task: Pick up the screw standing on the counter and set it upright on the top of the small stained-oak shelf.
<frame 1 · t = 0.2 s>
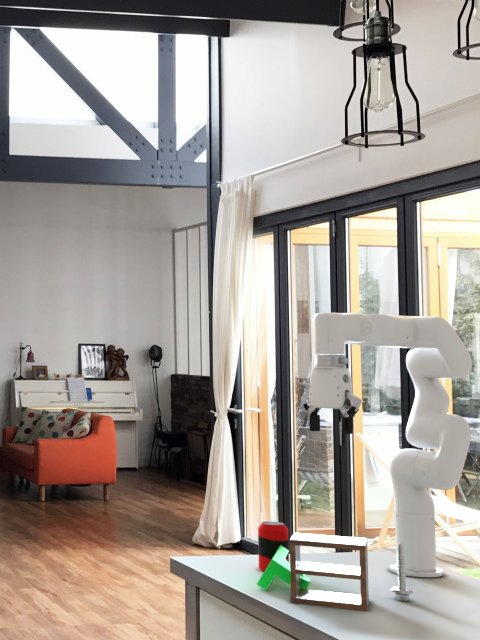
hand: (331, 432, 249), 37 cm above the counter, tool pointing down, fingers open, 9 cm apart
bracket: (287, 584, 248), on the counter
screw: (402, 600, 233), on the counter
shelf: (330, 602, 230), on the counter
soda can: (273, 571, 263), on the counter
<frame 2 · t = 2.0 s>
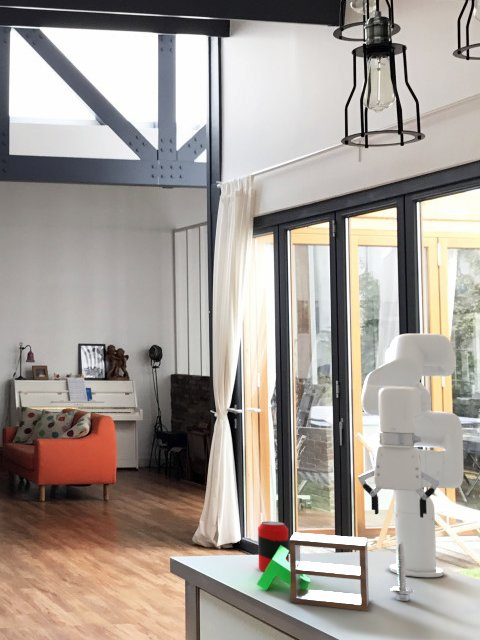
hand: (399, 515, 235), 19 cm above the counter, tool pointing down, fingers open, 9 cm apart
nothing on the counter moved.
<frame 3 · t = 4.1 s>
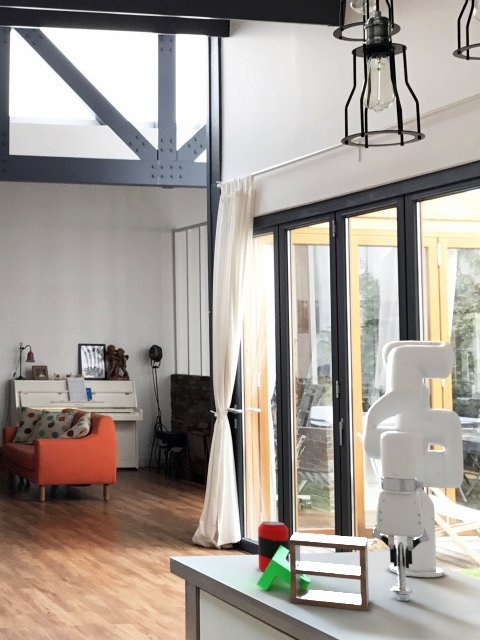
hand: (401, 566, 234), 8 cm above the counter, tool pointing down, fingers closed on screw, 2 cm apart
screw: (402, 600, 233), on the counter, touching gripper
everything else where it was.
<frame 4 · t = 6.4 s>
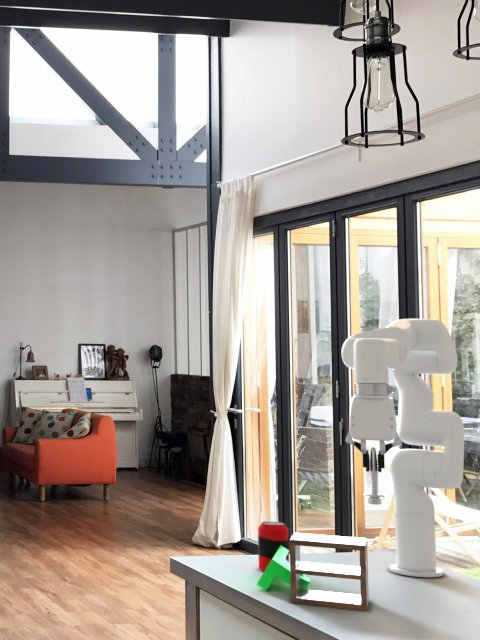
hand: (373, 470, 235), 29 cm above the counter, tool pointing down, fingers closed on screw
screw: (374, 504, 234), point 22 cm above the counter, touching gripper
everything else where it was.
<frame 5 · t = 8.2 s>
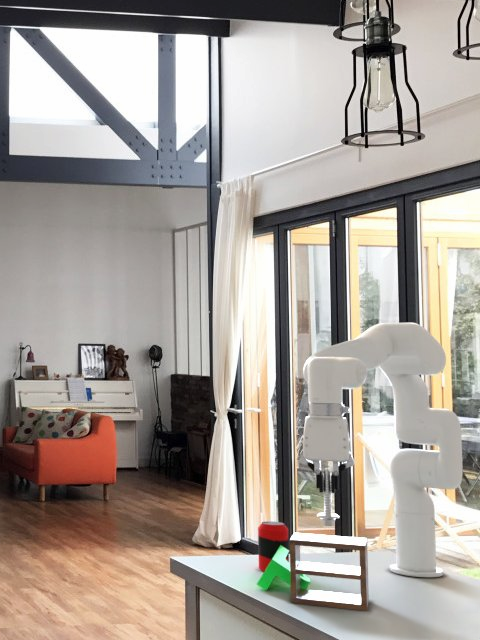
hand: (327, 491, 232), 25 cm above the counter, tool pointing down, fingers closed on screw
screw: (328, 526, 231), point 17 cm above the counter, touching gripper
everything else where it was.
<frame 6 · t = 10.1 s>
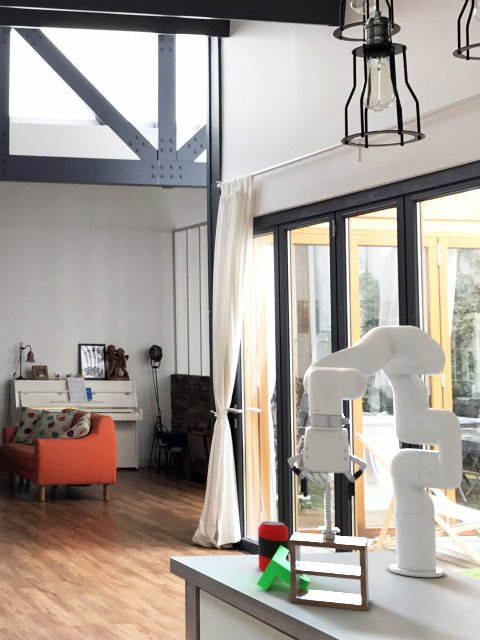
hand: (327, 497, 232), 23 cm above the counter, tool pointing down, fingers open, 9 cm apart
screw: (328, 539, 231), point 14 cm above the counter, touching shelf
everything else where it was.
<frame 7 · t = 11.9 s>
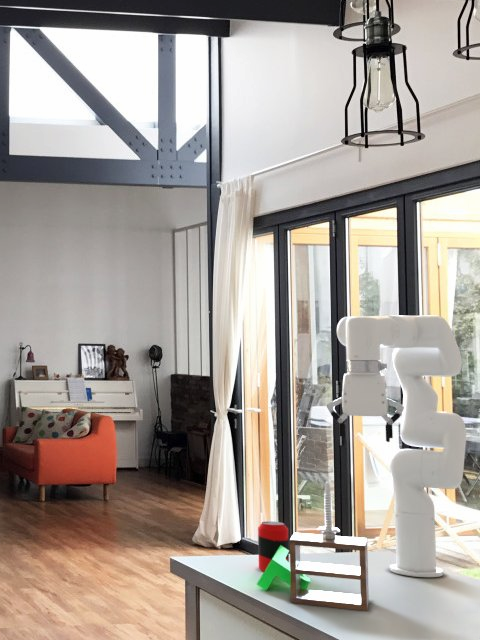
hand: (366, 440, 241), 36 cm above the counter, tool pointing down, fingers open, 9 cm apart
nothing on the counter moved.
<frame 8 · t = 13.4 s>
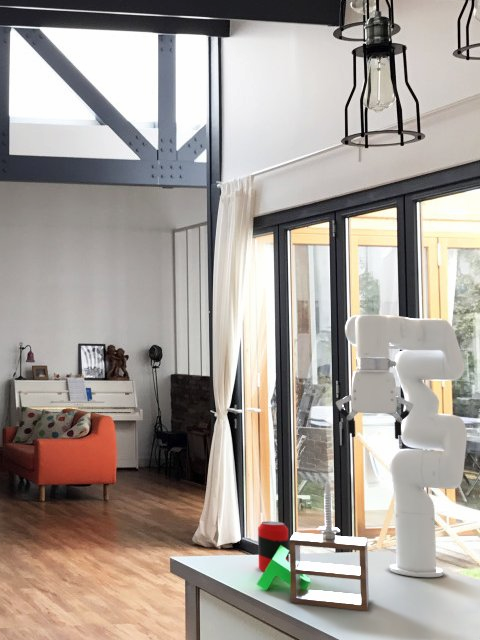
hand: (375, 437, 242), 36 cm above the counter, tool pointing down, fingers open, 9 cm apart
nothing on the counter moved.
at the end: screw inside the target area on the shelf (0.0 cm from its centre), point 13.8 cm above the shelf's base; screw tilted 0°; the gripper is holding nothing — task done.
